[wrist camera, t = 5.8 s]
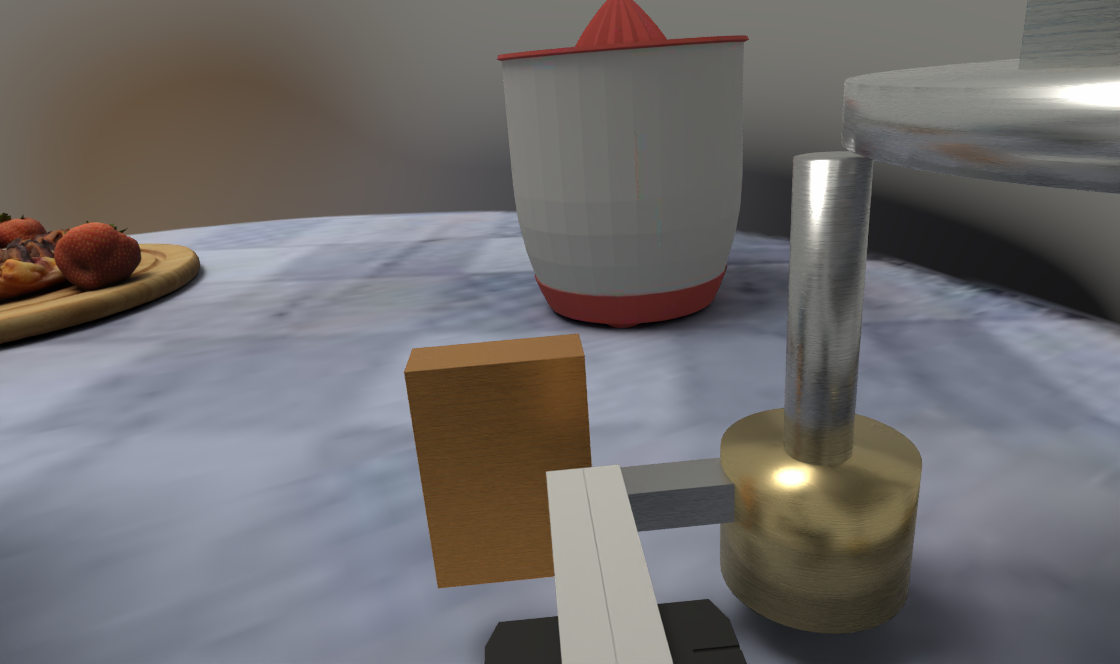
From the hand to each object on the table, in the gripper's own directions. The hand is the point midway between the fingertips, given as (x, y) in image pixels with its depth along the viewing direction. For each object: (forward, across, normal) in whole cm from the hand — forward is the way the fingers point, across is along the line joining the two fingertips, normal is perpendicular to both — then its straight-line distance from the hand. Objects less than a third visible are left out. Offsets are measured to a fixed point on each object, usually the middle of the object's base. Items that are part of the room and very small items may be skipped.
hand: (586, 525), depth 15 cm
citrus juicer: (+37, +6, -7) cm, 38 cm away
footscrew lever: (+4, +3, -6) cm, 8 cm away
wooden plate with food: (+51, -47, -8) cm, 70 cm away
